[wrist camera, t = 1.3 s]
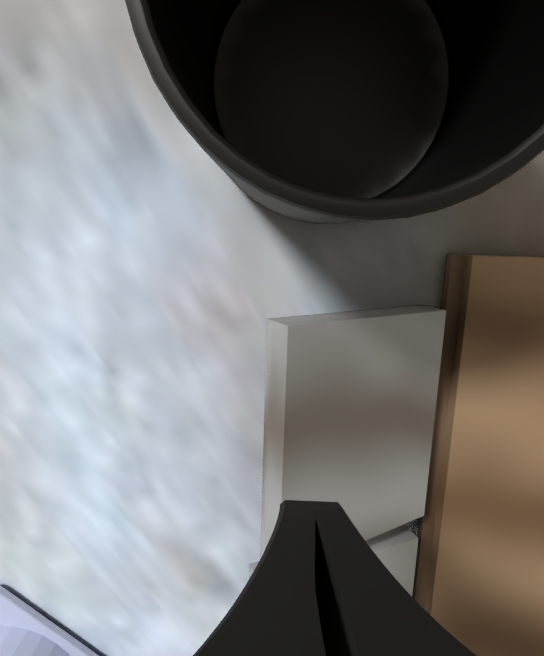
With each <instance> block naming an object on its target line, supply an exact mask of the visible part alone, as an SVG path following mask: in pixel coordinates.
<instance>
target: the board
mask: <svg viewBox="0 0 544 656" xmlns="http://www.w3.org/2000/svg"><path fill="white" fill-rule="evenodd" d="M442 310H446V318H445V328H444V337H443V346H442V355H441V364H440V374H439V383H438V392H437V401H436V410H435V420H434V429H433V438H432V447H431V456H430V466H429V475H428V484H427V493H426V502H425V512H424V516H422V517H420V518H419V525H418V535H417V537H418V547H417V556H416V566H415V575H414V584H413V594H412V597H413V598H414V600H415V601H416V602H417V603H418V604H419V605H420V606H421V607H422V608H423V609H424V610H426V611H427V612H428V613H429V614H430V615H431V616H432V617H433V618H434V619H435V620H436V621H437V622H438V623H439V624H440V625H441V626H442V627H443V628H445V629H446V630H447V631H448V632H449V633H450V634H451V635H453V636H454V637H455V638H456V639H457V640H458V641H459V642H461V643H462V644H463V645H464V646H465V647H467V648H468V649H469V650H470V651H472V652H473V653H474V654H475V655H477V656H544V257H538V256H504V255H470V254H447V262H446V272H445V281H444V291H443V300H442Z"/></svg>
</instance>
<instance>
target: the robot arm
mask: <svg viewBox="0 0 544 656" xmlns="http://www.w3.org/2000/svg"><path fill="white" fill-rule="evenodd" d="M0 656H99V655H97V654H96V653H95V652H93V651H92V650H90V649H89V648H88V647H86V646H85V645H83V644H82V643H81V642H79V641H78V640H76V639H75V638H74V637H72V636H71V635H69V634H68V633H67V632H65V631H64V630H62V629H61V628H60V627H58V626H57V625H55V624H54V623H53V622H51V621H50V620H48V619H47V618H46V617H44V616H43V615H41V614H40V613H39V612H37V611H36V610H34V609H33V608H32V607H30V606H29V605H27V604H26V603H24V602H23V601H22V600H20V599H19V598H17V597H16V596H15V595H13V594H12V593H10V592H9V591H8V590H6V589H5V588H3V587H2V586H0ZM193 656H477V655H475V654H474V653H473V652H472V651H470V650H469V649H468V648H467V647H465V646H464V645H463V644H462V643H461V642H459V641H458V640H457V639H456V638H455V637H454V636H453V635H451V634H450V633H449V632H448V631H447V630H446V629H445V628H443V627H442V626H441V625H440V624H439V623H438V622H437V621H436V620H435V619H434V618H433V617H432V616H431V615H430V614H429V613H428V612H427V611H426V610H424V609H423V608H422V607H421V606H420V605H419V604H418V603H417V602H416V601H415V600H414V598H413V597H412V596H411V595H410V594H409V593H408V592H407V591H406V590H405V589H404V588H403V586H402V585H401V584H400V583H399V582H398V581H397V580H396V579H395V577H394V576H393V575H392V574H391V573H390V571H389V570H388V569H387V568H386V567H385V565H384V564H383V563H382V562H381V560H380V559H379V558H378V557H377V555H376V554H375V553H374V552H373V550H372V549H371V548H370V546H369V545H368V544H367V542H366V541H365V540H364V538H363V537H362V536H361V534H360V533H359V531H358V530H357V529H356V527H355V526H354V524H353V523H352V521H351V520H350V518H349V517H348V515H347V514H346V512H345V511H344V509H343V508H342V506H341V505H340V504H339V503H338V502H324V501H299V500H284V501H283V502H282V503H281V504H280V510H279V514H278V518H277V522H276V525H275V527H274V530H273V533H272V535H271V538H270V540H269V542H268V544H267V546H266V549H265V551H264V553H263V555H262V557H261V559H260V561H259V563H258V565H257V566H256V568H255V570H254V572H253V573H252V575H251V577H250V579H249V581H248V582H247V584H246V586H245V587H244V589H243V591H242V592H241V594H240V595H239V597H238V598H237V600H236V601H235V603H234V604H233V606H232V607H231V609H230V610H229V611H228V613H227V614H226V616H225V617H224V618H223V620H222V621H221V622H220V624H219V625H218V626H217V627H216V629H215V630H214V631H213V632H212V634H211V635H210V636H209V637H208V639H207V640H206V641H205V642H204V644H203V645H202V646H201V647H200V648H199V649H198V651H197V652H196V653H195V654H194V655H193Z"/></svg>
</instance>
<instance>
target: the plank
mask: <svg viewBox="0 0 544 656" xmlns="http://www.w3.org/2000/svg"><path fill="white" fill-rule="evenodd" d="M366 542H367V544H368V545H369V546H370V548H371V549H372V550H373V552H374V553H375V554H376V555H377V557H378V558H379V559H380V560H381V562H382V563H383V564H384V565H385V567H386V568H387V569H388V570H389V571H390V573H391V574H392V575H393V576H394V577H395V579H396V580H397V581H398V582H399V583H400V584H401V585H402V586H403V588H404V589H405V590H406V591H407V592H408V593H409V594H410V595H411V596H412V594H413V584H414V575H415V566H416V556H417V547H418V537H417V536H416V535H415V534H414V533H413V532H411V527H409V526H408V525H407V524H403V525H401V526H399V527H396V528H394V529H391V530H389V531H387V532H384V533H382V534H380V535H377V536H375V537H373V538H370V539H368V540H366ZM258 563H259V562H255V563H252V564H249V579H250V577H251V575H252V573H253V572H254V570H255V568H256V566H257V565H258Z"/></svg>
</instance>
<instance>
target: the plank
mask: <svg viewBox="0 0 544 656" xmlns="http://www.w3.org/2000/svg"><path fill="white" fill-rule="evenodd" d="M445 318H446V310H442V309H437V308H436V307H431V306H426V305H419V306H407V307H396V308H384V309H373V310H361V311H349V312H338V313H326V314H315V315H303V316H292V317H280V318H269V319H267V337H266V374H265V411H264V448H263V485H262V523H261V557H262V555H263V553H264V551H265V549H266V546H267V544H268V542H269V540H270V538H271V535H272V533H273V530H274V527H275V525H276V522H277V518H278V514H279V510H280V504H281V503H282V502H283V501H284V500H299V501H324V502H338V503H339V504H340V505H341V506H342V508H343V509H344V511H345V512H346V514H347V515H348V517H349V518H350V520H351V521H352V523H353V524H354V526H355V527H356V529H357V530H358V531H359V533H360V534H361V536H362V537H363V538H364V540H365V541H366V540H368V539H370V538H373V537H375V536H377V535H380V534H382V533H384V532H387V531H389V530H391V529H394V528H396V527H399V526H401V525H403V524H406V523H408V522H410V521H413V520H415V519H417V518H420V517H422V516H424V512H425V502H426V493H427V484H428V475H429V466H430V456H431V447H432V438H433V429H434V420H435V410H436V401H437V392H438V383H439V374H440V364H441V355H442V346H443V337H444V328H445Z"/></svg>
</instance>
